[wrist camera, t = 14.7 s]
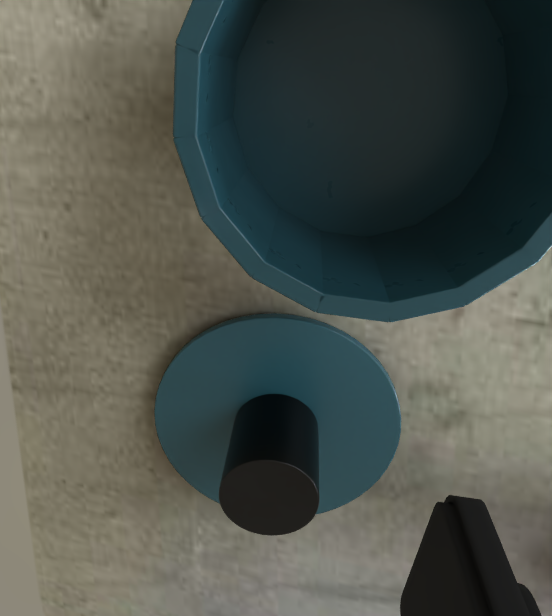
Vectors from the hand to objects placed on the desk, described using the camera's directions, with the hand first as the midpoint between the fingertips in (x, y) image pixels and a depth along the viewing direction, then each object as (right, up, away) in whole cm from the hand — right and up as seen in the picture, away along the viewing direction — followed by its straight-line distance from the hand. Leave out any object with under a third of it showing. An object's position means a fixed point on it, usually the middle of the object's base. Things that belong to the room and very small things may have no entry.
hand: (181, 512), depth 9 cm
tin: (+6, +13, +14) cm, 20 cm away
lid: (+2, -3, +21) cm, 21 cm away
